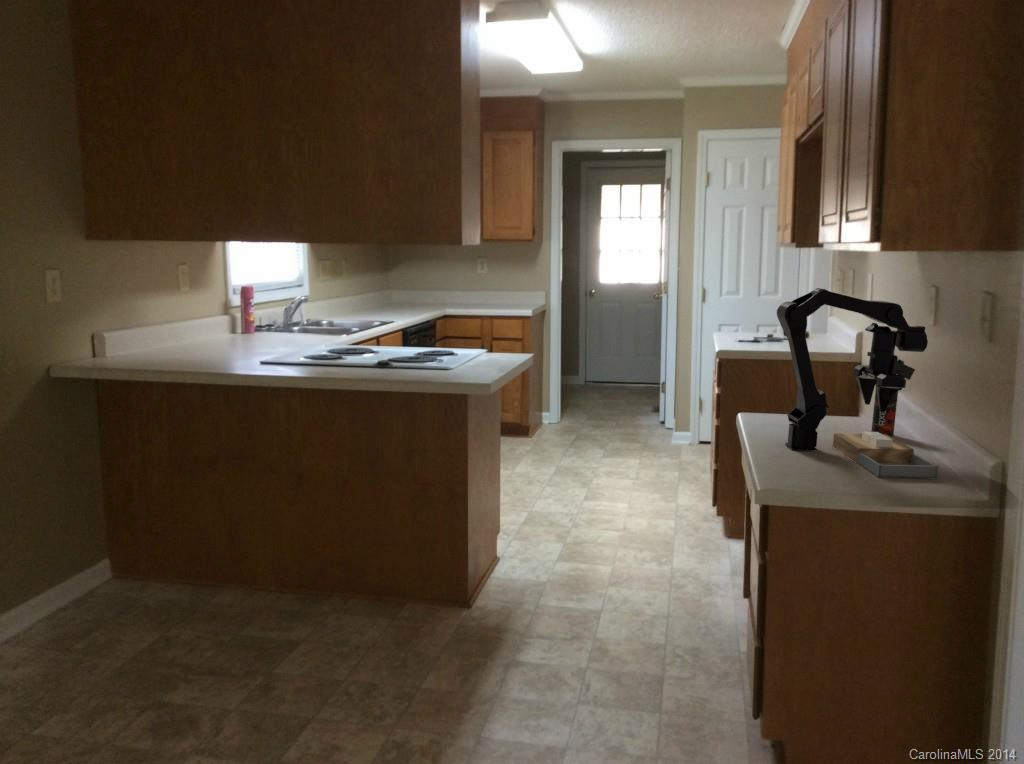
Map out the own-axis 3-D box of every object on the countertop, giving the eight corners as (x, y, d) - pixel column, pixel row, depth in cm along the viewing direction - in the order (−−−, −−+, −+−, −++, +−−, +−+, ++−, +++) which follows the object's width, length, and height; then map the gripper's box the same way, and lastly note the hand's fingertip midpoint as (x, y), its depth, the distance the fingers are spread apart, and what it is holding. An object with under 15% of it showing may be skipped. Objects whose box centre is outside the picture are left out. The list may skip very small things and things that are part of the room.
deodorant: (872, 435, 251) (878, 384, 248) (869, 431, 256) (874, 380, 254) (895, 437, 249) (900, 385, 247) (891, 433, 255) (896, 382, 252)
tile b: (875, 447, 221) (876, 439, 220) (869, 443, 225) (869, 435, 224) (891, 447, 221) (892, 439, 220) (884, 443, 225) (885, 436, 224)
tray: (878, 477, 208) (879, 465, 207) (857, 464, 220) (858, 452, 219) (936, 478, 208) (937, 466, 208) (912, 465, 220) (913, 453, 219)
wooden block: (857, 463, 220) (858, 448, 219) (832, 447, 235) (834, 433, 235) (912, 464, 220) (914, 449, 219) (884, 448, 236) (885, 434, 235)
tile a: (868, 442, 225) (869, 435, 225) (861, 439, 229) (862, 431, 229) (883, 443, 225) (884, 435, 225) (876, 439, 229) (877, 431, 229)
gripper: (930, 357, 221) (921, 417, 224) (896, 346, 239) (888, 402, 242) (886, 354, 221) (878, 415, 223) (856, 344, 239) (849, 400, 242)
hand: (874, 408), depth 233 cm, fingers open, 9 cm apart
